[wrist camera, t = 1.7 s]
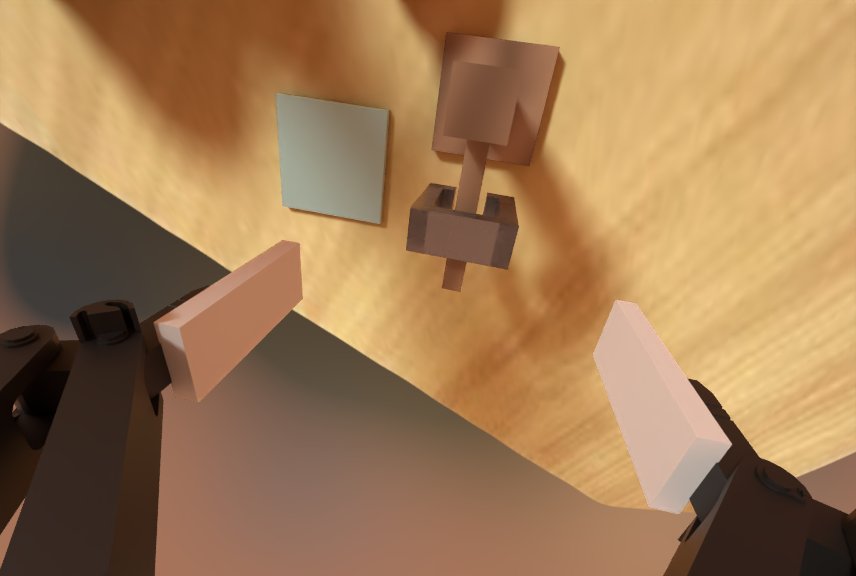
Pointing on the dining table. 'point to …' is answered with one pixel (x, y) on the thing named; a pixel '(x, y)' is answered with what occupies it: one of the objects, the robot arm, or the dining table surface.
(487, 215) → the c link
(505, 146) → the stand
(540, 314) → the dining table surface
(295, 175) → the coaster
